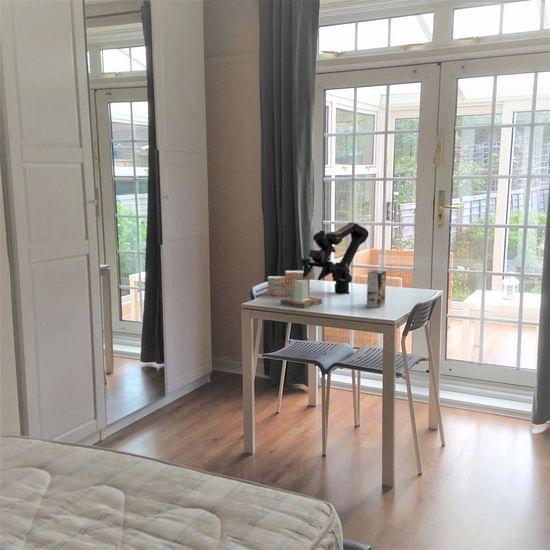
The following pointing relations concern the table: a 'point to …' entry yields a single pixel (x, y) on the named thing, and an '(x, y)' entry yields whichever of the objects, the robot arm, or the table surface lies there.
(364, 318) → the table surface
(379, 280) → the coffee box
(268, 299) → the table surface
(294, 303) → the base board
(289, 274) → the stack of blocks
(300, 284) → the pillar block
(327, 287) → the table surface
